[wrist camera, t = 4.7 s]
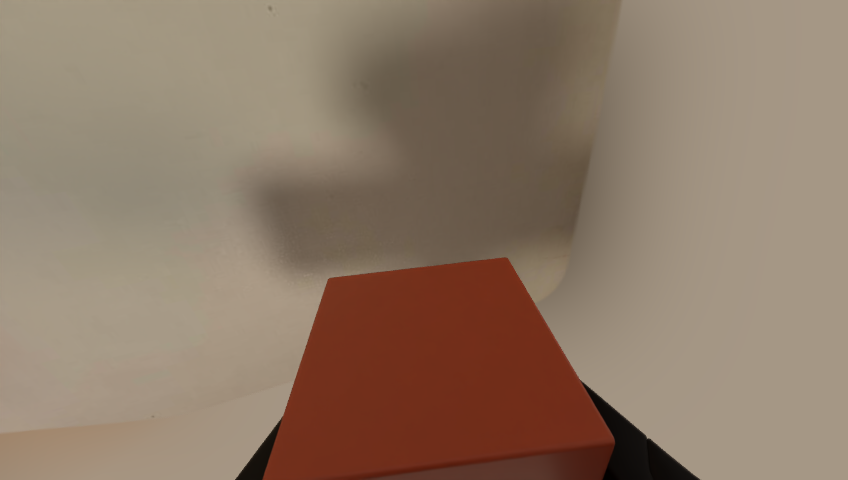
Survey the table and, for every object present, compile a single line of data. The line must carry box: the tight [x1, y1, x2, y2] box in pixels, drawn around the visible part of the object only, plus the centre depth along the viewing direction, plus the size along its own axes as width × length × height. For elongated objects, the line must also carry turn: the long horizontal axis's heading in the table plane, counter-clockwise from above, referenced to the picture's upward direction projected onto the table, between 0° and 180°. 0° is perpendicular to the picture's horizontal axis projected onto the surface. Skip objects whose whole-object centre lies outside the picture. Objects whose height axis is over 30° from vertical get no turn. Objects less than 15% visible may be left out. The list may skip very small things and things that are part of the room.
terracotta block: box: [263, 257, 615, 480], centre depth 8 cm, size 5×5×5 cm
